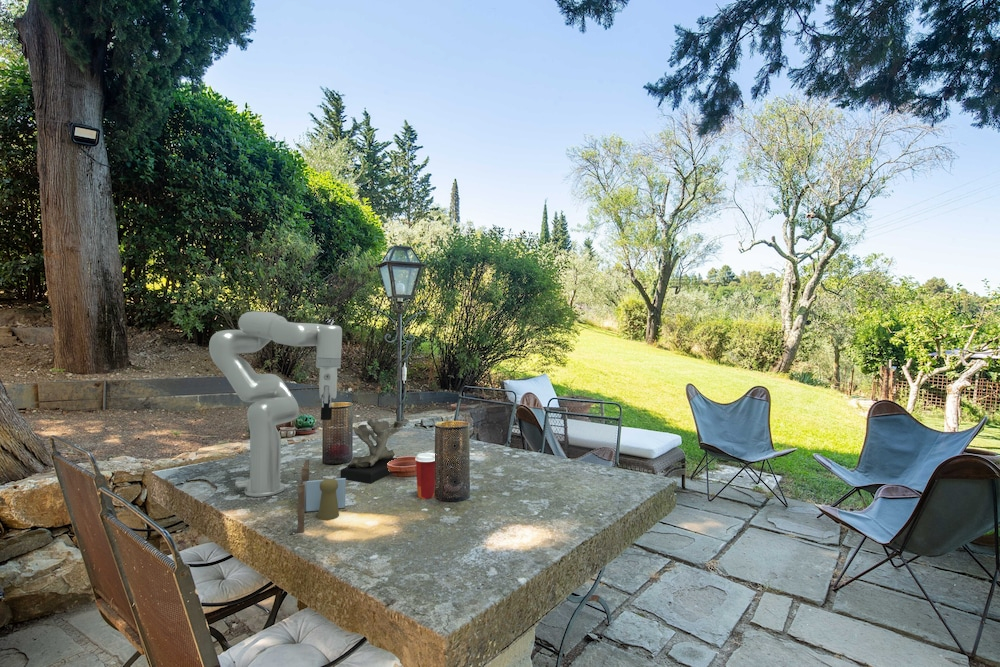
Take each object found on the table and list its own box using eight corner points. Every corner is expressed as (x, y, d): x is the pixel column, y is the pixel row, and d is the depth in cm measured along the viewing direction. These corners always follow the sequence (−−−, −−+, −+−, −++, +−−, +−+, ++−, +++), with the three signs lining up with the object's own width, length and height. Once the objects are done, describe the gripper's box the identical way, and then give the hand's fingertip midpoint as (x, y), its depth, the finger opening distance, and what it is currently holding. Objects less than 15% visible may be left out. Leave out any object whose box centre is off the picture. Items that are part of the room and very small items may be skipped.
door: (345, 507, 149) (345, 479, 149) (302, 511, 145) (302, 482, 145) (345, 506, 151) (345, 477, 150) (302, 510, 146) (302, 481, 146)
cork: (320, 512, 146) (320, 476, 146) (340, 512, 147) (341, 476, 147) (315, 520, 140) (316, 483, 140) (337, 519, 141) (337, 482, 141)
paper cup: (441, 494, 164) (442, 453, 164) (429, 501, 157) (429, 459, 157) (422, 490, 167) (423, 451, 167) (409, 497, 160) (410, 456, 160)
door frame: (296, 533, 131) (297, 486, 131) (303, 499, 157) (304, 459, 157) (304, 532, 132) (305, 485, 132) (310, 498, 158) (310, 459, 158)
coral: (379, 462, 202) (380, 411, 202) (421, 468, 194) (421, 415, 194) (338, 478, 179) (339, 421, 179) (383, 486, 171) (384, 427, 171)
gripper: (340, 365, 148) (337, 424, 149) (341, 361, 163) (339, 414, 163) (314, 365, 146) (311, 424, 147) (318, 360, 161) (315, 415, 161)
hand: (326, 419), depth 155 cm, fingers closed
